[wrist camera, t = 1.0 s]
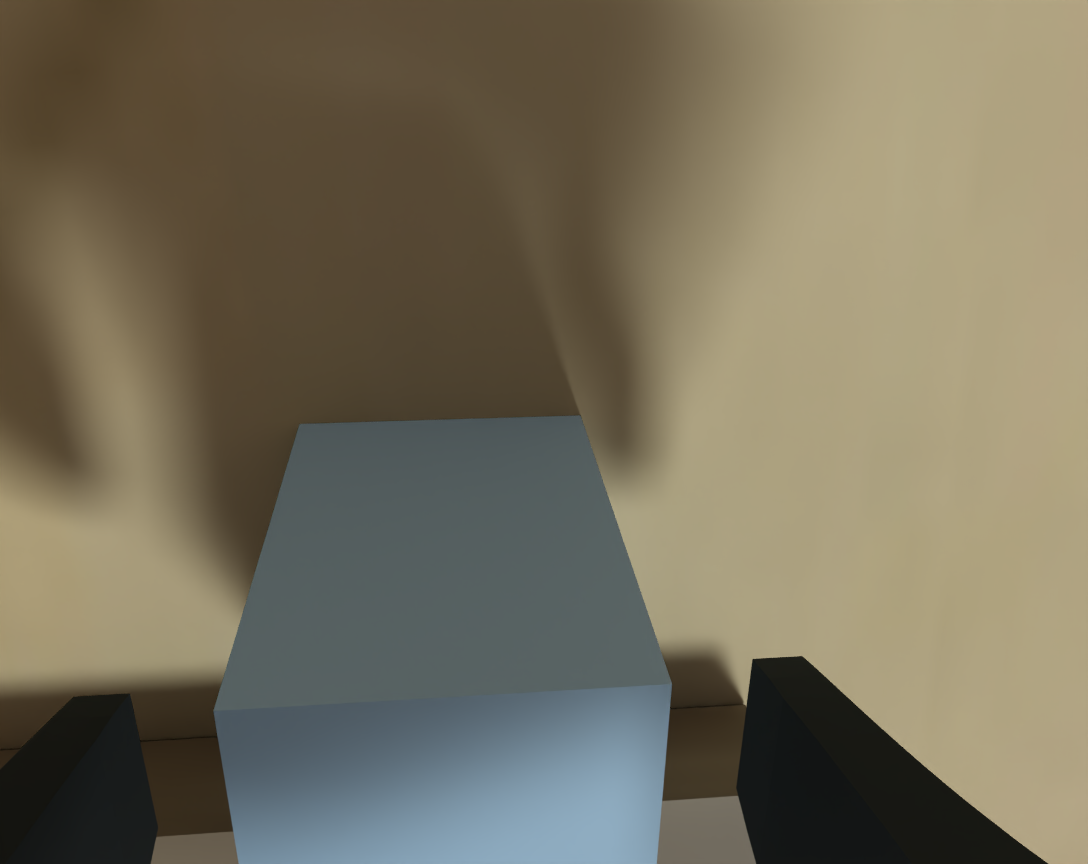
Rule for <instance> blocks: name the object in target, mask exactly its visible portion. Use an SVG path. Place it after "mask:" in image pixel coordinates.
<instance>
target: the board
mask: <svg viewBox="0 0 1088 864" xmlns="http://www.w3.org/2000/svg"><path fill="white" fill-rule="evenodd" d="M745 715H746V706H745V705H733V706H716V707H700V708H684V709H670V714H669V725H668V737H667V749H666V761H665V772H664V784H663V796H662V807H661V819H660V831H659V842H658V854H657V864H756V861H755V858H754V854H753V851H752V847H751V843H750V840H749V836H748V833H747V829H746V825H745V821H744V817H743V813H742V809H741V805H740V801H739V797H738V793H737V789H736V785H737V777H738V769H739V762H740V754H741V746H742V738H743V731H744V723H745ZM140 744H141V749H142V753H143V758H144V763H145V767H146V772H147V777H148V782H149V786H150V791H151V796H152V801H153V805H154V810H155V815H156V819H157V824H158V831H157V836H156V841H155V846H154V851H153V855H152V860H151V864H239V863H238V857H237V851H236V845H235V839H234V832H233V826H232V820H231V814H230V808H229V802H228V796H227V790H226V784H225V778H224V772H223V766H222V760H221V754H220V748H219V742H218V737H211V738H194V739H178V740H162V741H146V742H140ZM19 750H20V749H15V750H0V769H1V768H2V767H3V766H4V765H5V764H6V763H7V762H8V761H9V760H10V759H11V758H12V757H13V756H14V755H15V754H16V753H17V752H18V751H19Z"/></svg>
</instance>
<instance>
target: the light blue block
mask: <svg viewBox="0 0 1088 864" xmlns="http://www.w3.org/2000/svg"><path fill="white" fill-rule="evenodd" d="M671 690H672V682H671V680H670V677H669V674H668V671H667V668H666V665H665V662H664V659H663V656H662V653H661V650H660V647H659V644H658V641H657V638H656V636H655V633H654V630H653V627H652V624H651V621H650V618H649V615H648V612H647V609H646V606H645V603H644V600H643V597H642V594H641V592H640V589H639V586H638V583H637V580H636V577H635V574H634V571H633V568H632V565H631V562H630V559H629V556H628V553H627V550H626V548H625V545H624V542H623V539H622V536H621V533H620V530H619V527H618V524H617V521H616V518H615V515H614V512H613V509H612V506H611V503H610V501H609V498H608V495H607V492H606V489H605V486H604V483H603V480H602V477H601V474H600V471H599V468H598V465H597V462H596V459H595V457H594V454H593V451H592V448H591V445H590V442H589V439H588V436H587V433H586V430H585V427H584V424H583V421H582V418H581V415H578V416H545V417H512V418H479V419H446V420H413V421H380V422H347V423H314V424H299V427H298V431H297V434H296V437H295V441H294V444H293V447H292V451H291V454H290V457H289V461H288V464H287V467H286V471H285V474H284V477H283V481H282V484H281V487H280V491H279V494H278V497H277V501H276V504H275V507H274V511H273V514H272V517H271V521H270V524H269V527H268V531H267V534H266V537H265V541H264V544H263V547H262V551H261V554H260V557H259V561H258V564H257V567H256V571H255V574H254V577H253V581H252V584H251V587H250V591H249V594H248V597H247V601H246V604H245V607H244V611H243V614H242V617H241V621H240V624H239V627H238V631H237V634H236V637H235V641H234V644H233V647H232V651H231V654H230V657H229V661H228V664H227V667H226V671H225V674H224V677H223V681H222V684H221V687H220V691H219V694H218V697H217V701H216V704H215V707H214V711H213V712H214V718H215V724H216V730H217V736H218V742H219V748H220V754H221V760H222V766H223V772H224V778H225V784H226V790H227V796H228V802H229V808H230V814H231V820H232V826H233V832H234V839H235V845H236V851H237V857H238V863H239V864H657V854H658V842H659V831H660V819H661V807H662V796H663V784H664V772H665V761H666V749H667V737H668V725H669V714H670V702H671Z"/></svg>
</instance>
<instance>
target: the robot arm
mask: <svg viewBox="0 0 1088 864" xmlns="http://www.w3.org/2000/svg"><path fill="white" fill-rule="evenodd" d="M736 789H737V793H738V797H739V801H740V805H741V809H742V813H743V817H744V821H745V825H746V829H747V833H748V836H749V840H750V843H751V847H752V851H753V854H754V858H755V861H756V864H1048V863H1046V862H1045V861H1044V860H1042V859H1041V858H1040V857H1038V856H1037V855H1035V854H1034V853H1033V852H1031V851H1030V850H1029V849H1027V848H1026V847H1024V846H1023V845H1022V844H1020V843H1019V842H1018V841H1016V840H1015V839H1014V838H1013V837H1011V836H1010V835H1009V834H1007V833H1006V832H1005V831H1004V830H1002V829H1001V828H1000V827H998V826H997V825H996V824H995V823H993V822H992V821H991V820H989V819H988V818H987V817H986V816H984V815H983V814H982V813H980V812H979V811H978V810H977V809H975V808H974V807H973V806H972V805H970V804H969V803H968V802H967V801H965V800H964V799H963V798H962V797H960V796H959V795H958V794H957V793H956V792H954V791H953V790H952V789H951V788H949V787H948V786H947V785H946V784H945V783H943V782H942V781H941V780H940V779H939V778H937V777H936V776H935V775H934V774H933V773H932V772H930V771H929V770H928V769H927V768H926V767H925V766H923V765H922V764H921V763H920V762H919V761H918V760H916V759H915V758H914V757H913V756H912V755H911V754H910V753H908V752H907V751H906V750H905V749H904V748H903V747H902V746H900V745H899V744H898V743H897V742H896V741H895V740H894V739H893V738H891V737H890V736H889V735H888V734H887V733H886V732H885V731H884V730H882V729H881V728H880V727H879V726H878V725H877V724H876V723H875V722H874V721H873V720H871V719H870V718H869V717H868V716H867V715H866V714H865V713H864V712H863V711H862V710H861V709H859V708H858V707H857V706H856V705H855V704H854V703H853V702H852V701H851V700H850V699H849V698H847V697H846V696H845V695H844V694H843V693H842V692H841V691H840V690H839V689H838V688H837V687H836V686H834V685H833V684H832V683H831V682H830V681H829V680H828V679H827V678H826V677H825V676H824V675H823V674H821V673H820V672H819V671H818V670H817V669H816V668H815V667H814V666H813V665H811V664H810V663H809V662H808V661H807V660H806V659H805V658H804V657H802V656H798V657H780V658H762V659H753V661H752V669H751V676H750V684H749V692H748V700H747V707H746V715H745V723H744V731H743V738H742V746H741V754H740V762H739V769H738V777H737V785H736ZM157 831H158V824H157V819H156V815H155V810H154V805H153V801H152V796H151V791H150V786H149V782H148V777H147V772H146V767H145V763H144V758H143V753H142V749H141V744H140V739H139V734H138V730H137V725H136V720H135V715H134V711H133V706H132V701H131V697H130V694H114V695H96V696H78V697H73V698H72V699H71V700H70V701H69V702H68V703H67V704H66V705H65V706H64V707H63V708H62V709H60V710H59V711H58V712H57V713H56V714H55V715H54V716H53V717H52V718H51V719H50V720H49V721H48V722H47V723H46V724H45V725H44V726H43V727H42V728H41V729H40V730H39V731H38V732H37V733H36V734H35V735H34V736H33V737H32V738H31V739H30V740H29V741H28V742H27V743H26V744H25V745H24V746H23V747H22V748H21V749H20V750H19V751H18V752H17V753H16V754H15V755H14V756H13V757H12V758H11V759H10V760H9V761H8V762H7V763H6V764H5V765H4V766H3V767H2V768H1V769H0V864H151V860H152V855H153V851H154V846H155V841H156V836H157Z"/></svg>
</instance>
